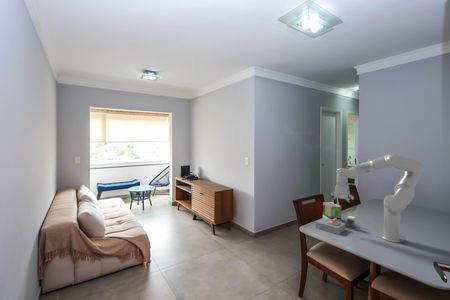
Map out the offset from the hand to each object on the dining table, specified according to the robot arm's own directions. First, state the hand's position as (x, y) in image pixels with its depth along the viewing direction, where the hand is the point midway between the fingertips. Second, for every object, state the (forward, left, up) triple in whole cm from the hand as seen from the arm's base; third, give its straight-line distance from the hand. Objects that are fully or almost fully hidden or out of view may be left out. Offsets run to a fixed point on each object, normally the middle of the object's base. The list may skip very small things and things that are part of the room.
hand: (341, 205), depth 174 cm
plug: (-3, -12, -21) cm, 24 cm away
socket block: (+8, +1, -21) cm, 22 cm away
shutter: (+5, +1, -15) cm, 16 cm away
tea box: (+15, -19, -21) cm, 32 cm away
